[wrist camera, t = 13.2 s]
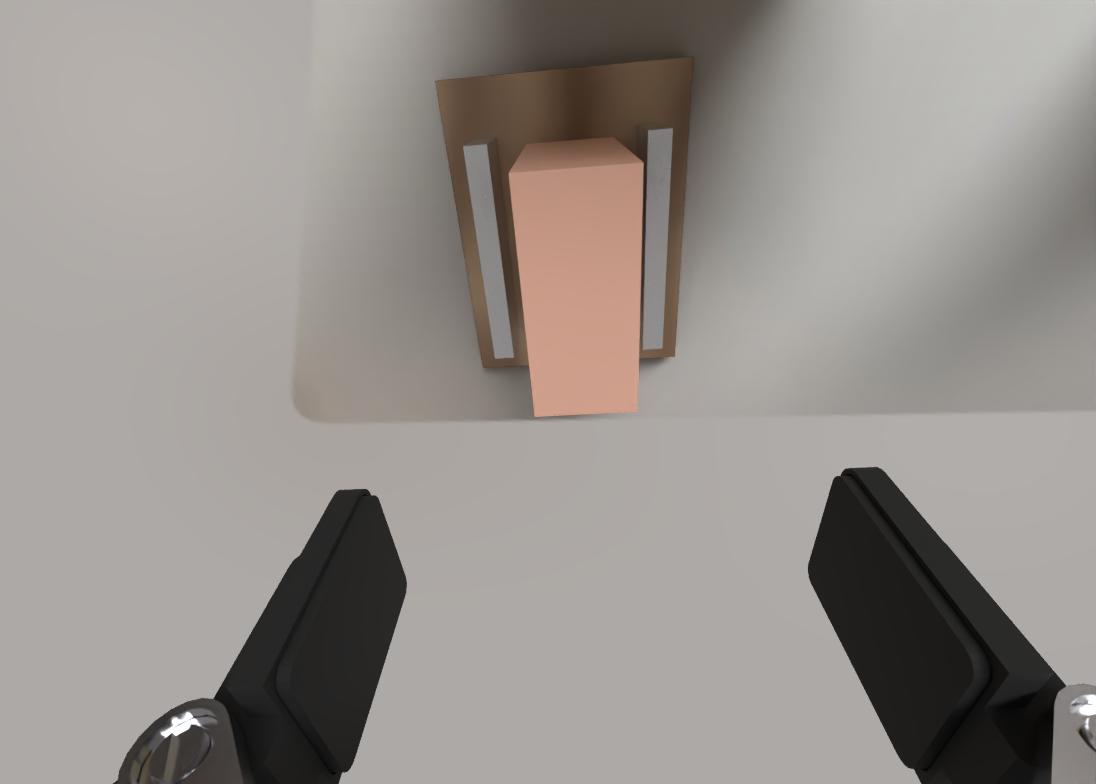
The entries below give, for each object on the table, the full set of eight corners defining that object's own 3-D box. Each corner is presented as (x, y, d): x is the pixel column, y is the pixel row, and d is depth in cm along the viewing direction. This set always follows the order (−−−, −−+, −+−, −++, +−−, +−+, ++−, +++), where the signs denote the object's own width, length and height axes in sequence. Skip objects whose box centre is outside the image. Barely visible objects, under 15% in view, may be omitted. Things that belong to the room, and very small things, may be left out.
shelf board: (687, 58, 28) (693, 56, 26) (670, 347, 37) (674, 356, 36) (440, 81, 28) (435, 80, 27) (485, 358, 38) (483, 367, 36)
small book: (613, 136, 28) (643, 162, 18) (614, 315, 34) (637, 411, 24) (526, 143, 29) (508, 173, 18) (542, 319, 34) (534, 416, 24)
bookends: (657, 123, 28) (672, 128, 24) (650, 319, 34) (662, 348, 30) (475, 138, 29) (462, 146, 25) (502, 329, 35) (494, 358, 31)
